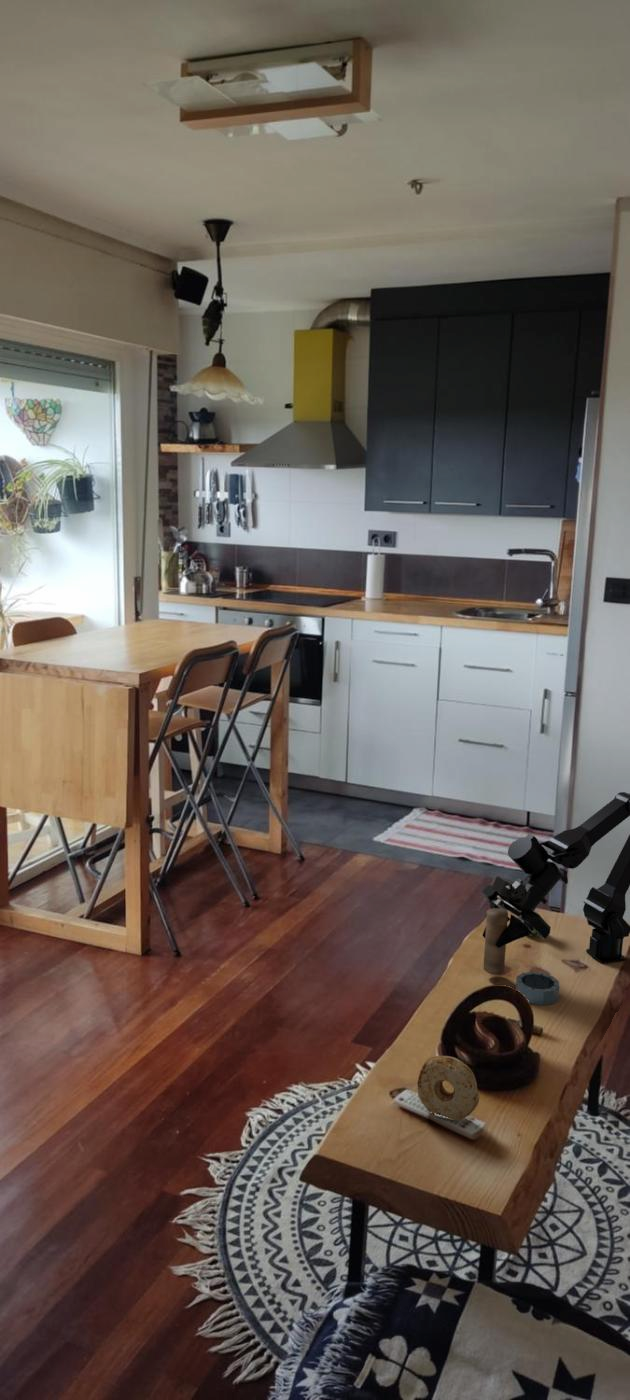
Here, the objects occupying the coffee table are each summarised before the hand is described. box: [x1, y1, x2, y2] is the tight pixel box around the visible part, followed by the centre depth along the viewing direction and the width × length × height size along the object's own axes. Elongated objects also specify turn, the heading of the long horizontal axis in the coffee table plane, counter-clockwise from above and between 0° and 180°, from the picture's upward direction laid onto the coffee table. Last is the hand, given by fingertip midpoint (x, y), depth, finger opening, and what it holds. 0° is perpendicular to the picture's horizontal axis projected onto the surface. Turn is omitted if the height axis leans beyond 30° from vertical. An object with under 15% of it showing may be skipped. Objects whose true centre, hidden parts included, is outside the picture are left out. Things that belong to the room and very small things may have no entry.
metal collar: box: [515, 971, 560, 1006], centre depth 211 cm, size 9×9×3 cm
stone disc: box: [416, 1055, 480, 1121], centre depth 168 cm, size 10×4×10 cm, turn 61°
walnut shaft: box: [483, 908, 509, 975], centre depth 217 cm, size 4×4×13 cm
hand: (490, 941), depth 216 cm, fingers closed on walnut shaft, 4 cm apart
